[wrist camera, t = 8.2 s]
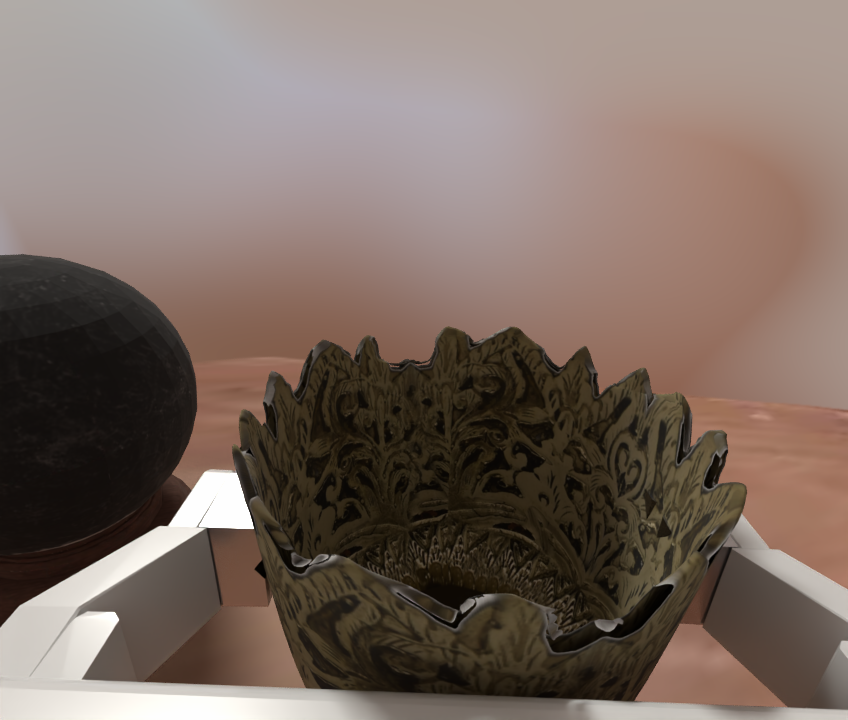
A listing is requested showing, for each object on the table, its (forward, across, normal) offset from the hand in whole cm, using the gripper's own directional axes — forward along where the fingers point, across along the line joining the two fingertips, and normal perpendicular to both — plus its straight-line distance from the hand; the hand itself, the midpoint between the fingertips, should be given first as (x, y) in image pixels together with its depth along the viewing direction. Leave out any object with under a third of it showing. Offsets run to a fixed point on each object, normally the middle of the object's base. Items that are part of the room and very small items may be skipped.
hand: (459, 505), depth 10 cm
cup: (-1, 0, +5) cm, 5 cm away
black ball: (+12, +18, +14) cm, 26 cm away
